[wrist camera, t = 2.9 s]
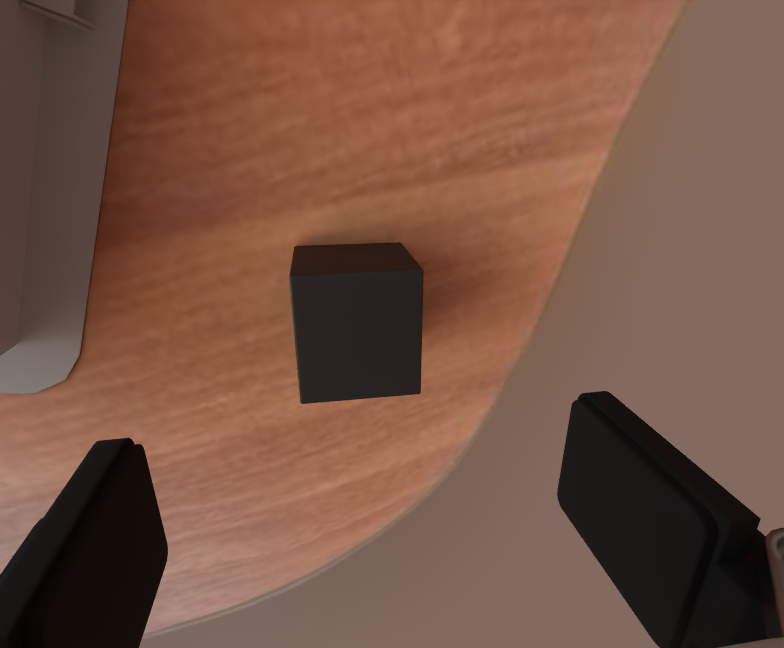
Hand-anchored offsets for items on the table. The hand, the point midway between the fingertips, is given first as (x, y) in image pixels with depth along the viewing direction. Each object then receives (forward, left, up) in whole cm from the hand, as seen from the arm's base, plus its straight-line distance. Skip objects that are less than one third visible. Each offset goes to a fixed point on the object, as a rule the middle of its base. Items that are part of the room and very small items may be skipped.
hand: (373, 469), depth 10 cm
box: (0, 0, -12) cm, 12 cm away
